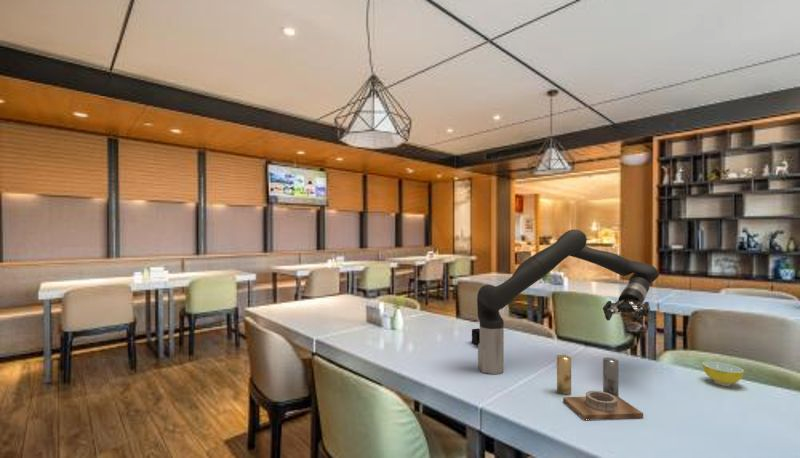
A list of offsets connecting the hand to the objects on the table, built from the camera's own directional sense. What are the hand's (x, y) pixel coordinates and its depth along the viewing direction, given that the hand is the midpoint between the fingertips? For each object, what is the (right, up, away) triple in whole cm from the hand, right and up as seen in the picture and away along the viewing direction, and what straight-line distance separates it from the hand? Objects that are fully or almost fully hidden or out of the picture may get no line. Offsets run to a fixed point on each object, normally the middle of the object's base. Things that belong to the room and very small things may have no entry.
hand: (620, 319), depth 133 cm
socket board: (-16, -24, -17) cm, 33 cm away
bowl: (+39, -24, +3) cm, 46 cm away
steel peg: (-8, -24, -8) cm, 26 cm away
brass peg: (-22, -24, -5) cm, 33 cm away
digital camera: (-39, -24, +48) cm, 67 cm away
